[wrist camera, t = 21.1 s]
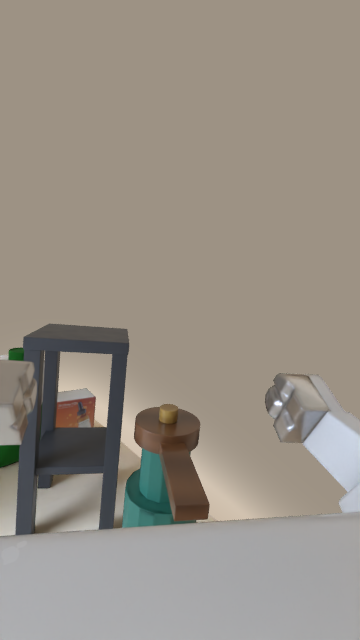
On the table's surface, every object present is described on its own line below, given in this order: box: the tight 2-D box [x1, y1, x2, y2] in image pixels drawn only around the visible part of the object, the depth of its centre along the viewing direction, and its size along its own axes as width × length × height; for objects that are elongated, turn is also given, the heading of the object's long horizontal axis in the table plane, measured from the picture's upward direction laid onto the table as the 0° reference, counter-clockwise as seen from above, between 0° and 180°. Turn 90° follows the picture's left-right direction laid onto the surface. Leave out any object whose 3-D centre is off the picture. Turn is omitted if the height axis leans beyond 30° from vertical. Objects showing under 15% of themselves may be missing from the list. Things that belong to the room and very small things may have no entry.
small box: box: [56, 388, 96, 427], centre depth 58 cm, size 8×6×10 cm
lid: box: [134, 404, 209, 521], centre depth 27 cm, size 15×7×3 cm, turn 12°
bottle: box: [122, 448, 196, 528], centre depth 31 cm, size 8×8×17 cm
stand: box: [15, 324, 129, 535], centre depth 41 cm, size 12×12×26 cm
